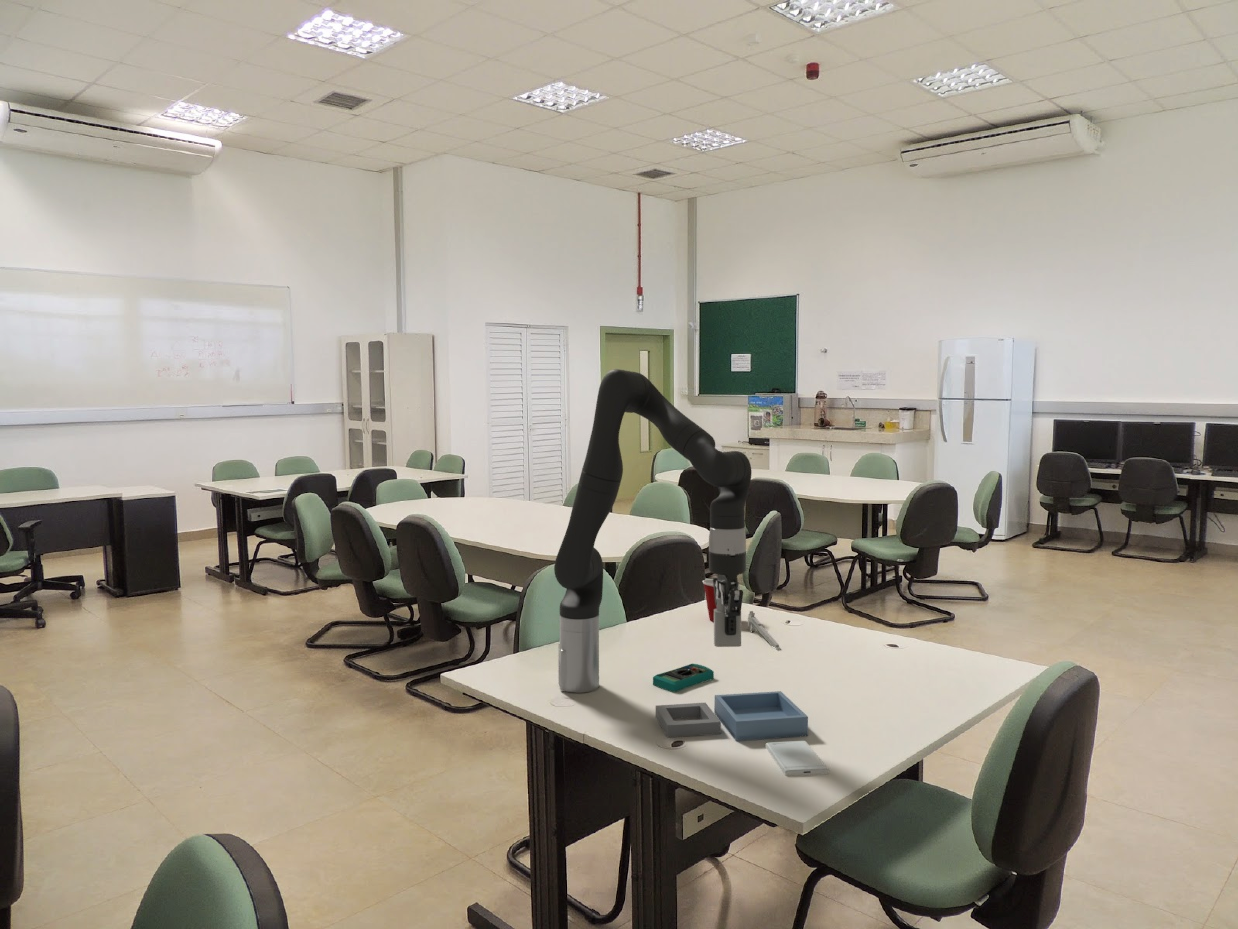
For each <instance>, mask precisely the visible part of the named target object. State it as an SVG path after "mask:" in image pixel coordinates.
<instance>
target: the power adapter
mask: <svg viewBox="0 0 1238 929" xmlns="http://www.w3.org/2000/svg"><path fill="white" fill-rule="evenodd" d="M726 601H727V602H728V601H729V600H726ZM732 610H734V608H733V607H732ZM724 613H725V612H724V606H723V605H722V603H721V598H717V609H714V622H713V644H714V647H716V648H724V647H725V648H732V647H734V648H739V647H741V646H742V613H741V614H740V616H737V617H736V634H735V635H726V634H725V615H724Z"/></svg>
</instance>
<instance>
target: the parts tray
mask: <svg viewBox="0 0 1238 929" xmlns="http://www.w3.org/2000/svg"><path fill="white" fill-rule="evenodd" d="M713 713H714V714H715V715H716V717H717V718H718V719H719V720H720V722H721V724H722V725H723V726H724V727H725V729H726V731H727V732H729V734H730V735H731V737H732V738H733V740H735V742H742V741H744V742H745V741H757V740H770V739H771V740H773V739H785V738H799V737H800V736H801V737H808V732H809V731H808V730H809V716H808V715H807V714H806V713H805V712H804V711H803V710H801V708H800V707H798V706H797V704H795V703H794V702H793V701H792V700H791V699H790V698H789V697H787V695H786V694H785V693H783V691H781V690H780V691H779V690H777V691H764V692H762V691H761V692H747V693H746V692H745V693H743V692H742V693H731V694H729V693H728V694H714V711H713Z"/></svg>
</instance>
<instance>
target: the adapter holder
mask: <svg viewBox="0 0 1238 929" xmlns="http://www.w3.org/2000/svg"><path fill="white" fill-rule="evenodd" d="M697 718H699V719H697ZM655 719H656V721H657V722H658V724H659V725H660V727H661V729H662V732H664V735H665V736H666V737H667V738H679V736H680V737H681V736H682V737H693V736H695V737H696V736H708V735H721V729H722V728H721V726H722V725H721V724H722V722H721V721H720V720H719V719H718V717H717V716H716V715H715V713H714V711H713V710H712V709H711V708H710V706H709V705H708V704H707V702H696V703H695V702H692V703H677V704H676V703H675V704H661V705H655ZM680 719H681V720H680ZM683 719H690V720H683ZM675 720H677V721H675ZM682 737H681V738H682Z"/></svg>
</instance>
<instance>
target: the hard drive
mask: <svg viewBox="0 0 1238 929" xmlns="http://www.w3.org/2000/svg"><path fill="white" fill-rule="evenodd" d="M765 749H766V750H767V752H768V753H769V754H770V756H771V758H772V759H773V760H774V761H775V763H776V765H777V766H778V768H779V769H780V771H781V772H782V773H783V775H784V776H803V775H804V776H806V775H823V774H824V775H826V774H828V775H829V773H830V770H829V768H828V767H827V765H826V764H825V763H824V762H823V761H822V759H821V758H820V757H819V755H818V754H817V753H816V752H815V751H814V749H813V748H812V747H811V746H810V745H809V743H808V742H807V741H806V740H794V741H793V740H792V741H774V742H773V741H772V742H771V741H769V742H767V743H765Z"/></svg>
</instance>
